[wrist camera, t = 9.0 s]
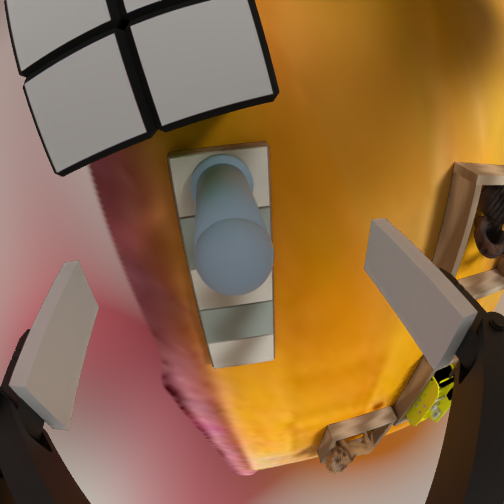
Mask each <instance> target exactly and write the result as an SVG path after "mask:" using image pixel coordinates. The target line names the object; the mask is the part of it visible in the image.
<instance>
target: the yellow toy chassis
mask: <svg viewBox="0 0 504 504" xmlns="http://www.w3.org/2000/svg"><path fill="white" fill-rule="evenodd" d="M453 368H454V367H453V365H452V364H451V365H448V366H446V367H444V368H442V369H439V370H437V371H436V372H435V374H434V375H433V377H432V378H431V380H430V381H429V383H428V384H427V386H426V387H425V389H424V390H423V392H422V393H421V395H420V396H419V397H418V399H417V400H416V402H415V403H414V404H413V406H412V407H411V408H410V410H409V411H408V413H407V414H406V416H407V418H408V420H409V422H410V424H411V425H414V426H416V425H418V423H419V422H421V421H423V420H425V419H427V417H428V416H429V418H430V419H431V420H432V421H435V422H438V420H439V419H440V418H441V417H442V416H443V415H444V414H445V412H446V411H447V410H448V409H449V408H450V406H451V400H452V393H453V386H454V378H455V373H454V374H453V376H452V377H451V379H449V378H448V377H449V374H450V373H451V371H452V370H453ZM438 416H439V417H438Z"/></svg>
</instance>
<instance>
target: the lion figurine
mask: <svg viewBox="0 0 504 504" xmlns="http://www.w3.org/2000/svg"><path fill="white" fill-rule="evenodd" d="M373 430H374V429H372V430H371V433H370V439H371V441H370V439H369V438H368V433H367V431H366V432H363V434H364V437H363V439H362V440H361V442H357V441H353V442H349V443H346V442H345V440H344V439H340V440H337V441H336V447H334V448H332V450H331V453H330V454H329V455H328V456H327V458H326V461H325V464H326V468H327V469H329V472H330V473H331V472H332V473H334V474H336V473H339V472H342V471H343V470H344V469H345V468H346V467H347V465H348V464H349V463H351V462H352V461H353V458H354V457H355V456H357V455H367V454H369V453H371V452H372V450H373V447H374V444H373V436H372V433H373Z"/></svg>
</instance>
